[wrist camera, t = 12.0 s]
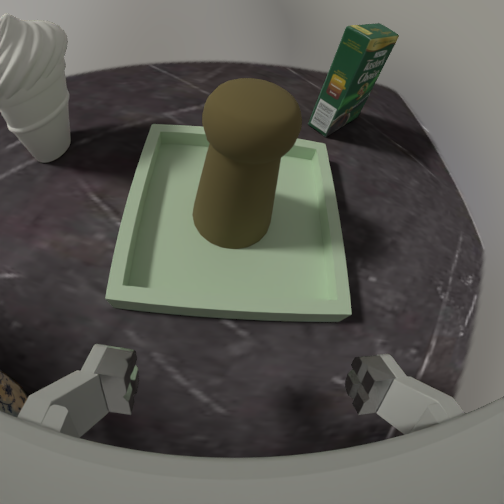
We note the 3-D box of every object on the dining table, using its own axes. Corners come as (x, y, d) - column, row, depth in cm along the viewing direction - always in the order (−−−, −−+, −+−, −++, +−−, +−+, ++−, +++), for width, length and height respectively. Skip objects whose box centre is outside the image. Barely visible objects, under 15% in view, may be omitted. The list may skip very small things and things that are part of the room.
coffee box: (325, 140, 30) (373, 37, 18) (304, 125, 30) (344, 22, 19) (358, 119, 33) (401, 35, 22) (340, 106, 34) (378, 22, 22)
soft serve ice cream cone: (81, 111, 27) (58, -15, 12) (97, 154, 24) (65, -5, 10) (17, 144, 23) (-27, 25, 9) (22, 193, 21) (-46, 52, 7)
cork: (286, 220, 23) (339, 109, 14) (227, 265, 21) (255, 150, 11) (235, 172, 25) (259, 57, 15) (176, 207, 22) (171, 83, 13)
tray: (113, 307, 19) (105, 298, 17) (153, 140, 26) (152, 124, 24) (338, 321, 21) (351, 314, 19) (318, 158, 28) (325, 143, 26)
